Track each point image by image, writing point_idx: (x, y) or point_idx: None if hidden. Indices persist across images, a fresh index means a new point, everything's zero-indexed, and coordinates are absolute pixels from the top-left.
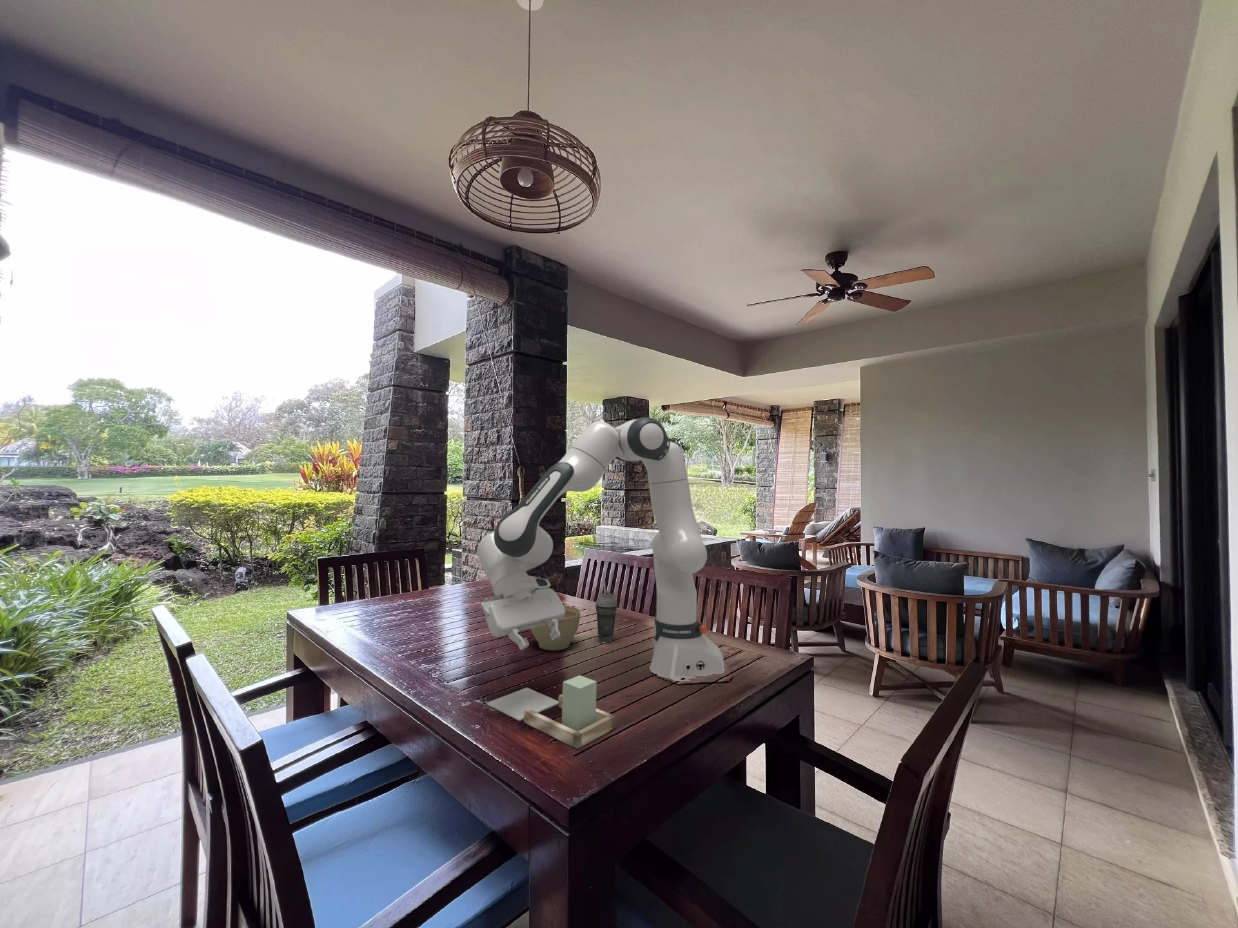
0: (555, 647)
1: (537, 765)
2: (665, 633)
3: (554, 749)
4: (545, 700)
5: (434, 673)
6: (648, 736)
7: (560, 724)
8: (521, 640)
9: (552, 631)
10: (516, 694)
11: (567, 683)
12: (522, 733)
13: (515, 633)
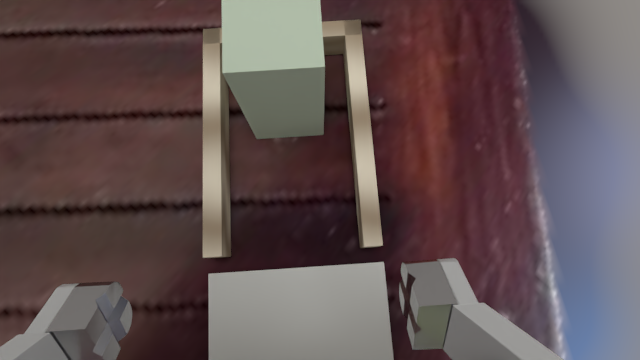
0: None
1: (471, 48)
2: None
3: (400, 73)
4: (235, 319)
5: None
6: None
7: (353, 95)
8: (473, 293)
9: (94, 331)
10: None
11: (322, 43)
12: (417, 192)
13: (547, 354)
